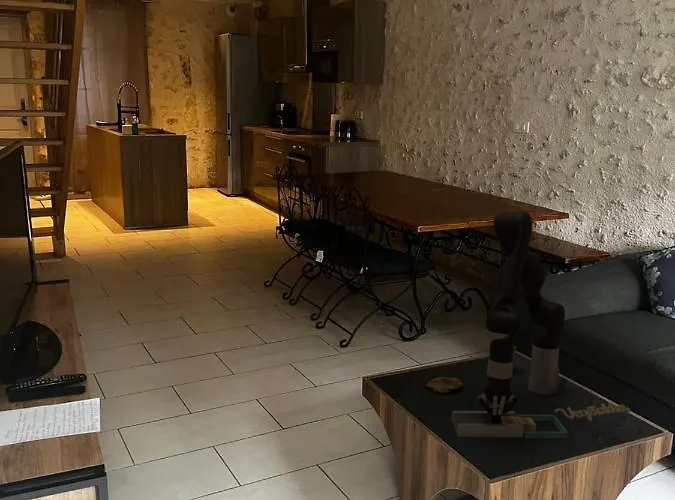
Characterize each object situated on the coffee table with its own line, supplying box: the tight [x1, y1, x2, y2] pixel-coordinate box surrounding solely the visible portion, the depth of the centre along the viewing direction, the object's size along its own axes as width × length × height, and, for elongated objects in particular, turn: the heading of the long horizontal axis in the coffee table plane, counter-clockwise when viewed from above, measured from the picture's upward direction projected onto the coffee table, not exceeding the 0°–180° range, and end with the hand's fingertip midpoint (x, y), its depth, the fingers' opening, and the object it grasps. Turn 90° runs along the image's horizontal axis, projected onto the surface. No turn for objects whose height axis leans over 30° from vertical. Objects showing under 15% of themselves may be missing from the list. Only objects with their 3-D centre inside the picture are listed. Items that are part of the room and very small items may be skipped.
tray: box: [515, 414, 569, 441], centre depth 206 cm, size 13×12×3 cm
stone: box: [424, 376, 464, 395], centre depth 236 cm, size 13×10×3 cm
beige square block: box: [500, 416, 519, 424], centre depth 205 cm, size 5×5×3 cm
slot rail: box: [451, 410, 524, 438], centre depth 205 cm, size 20×11×4 cm, turn 92°
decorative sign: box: [554, 402, 631, 423], centre depth 220 cm, size 26×1×10 cm
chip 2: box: [516, 416, 537, 434], centre depth 205 cm, size 5×5×3 cm
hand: (495, 424), depth 205 cm, fingers closed
